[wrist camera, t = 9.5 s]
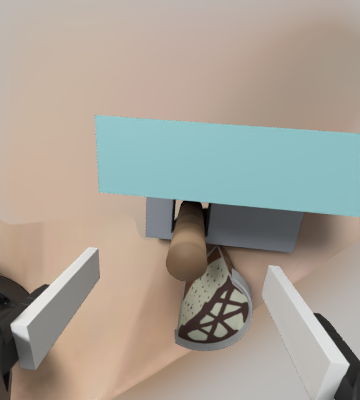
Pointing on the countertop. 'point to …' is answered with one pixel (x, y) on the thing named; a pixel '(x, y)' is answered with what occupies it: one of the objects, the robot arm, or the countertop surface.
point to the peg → (188, 244)
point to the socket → (230, 176)
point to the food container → (214, 306)
